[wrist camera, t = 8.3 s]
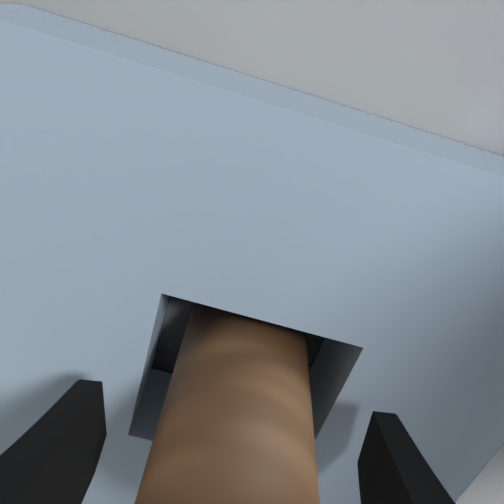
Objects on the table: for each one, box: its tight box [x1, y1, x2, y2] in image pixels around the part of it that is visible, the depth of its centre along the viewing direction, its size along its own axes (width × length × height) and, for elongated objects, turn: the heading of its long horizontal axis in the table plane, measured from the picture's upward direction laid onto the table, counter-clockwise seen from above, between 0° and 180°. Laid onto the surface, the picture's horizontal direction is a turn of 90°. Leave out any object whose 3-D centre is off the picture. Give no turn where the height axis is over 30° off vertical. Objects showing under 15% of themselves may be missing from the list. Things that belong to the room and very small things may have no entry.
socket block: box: [0, 4, 504, 504], centre depth 15 cm, size 16×16×3 cm
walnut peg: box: [134, 302, 320, 504], centre depth 13 cm, size 4×4×7 cm
